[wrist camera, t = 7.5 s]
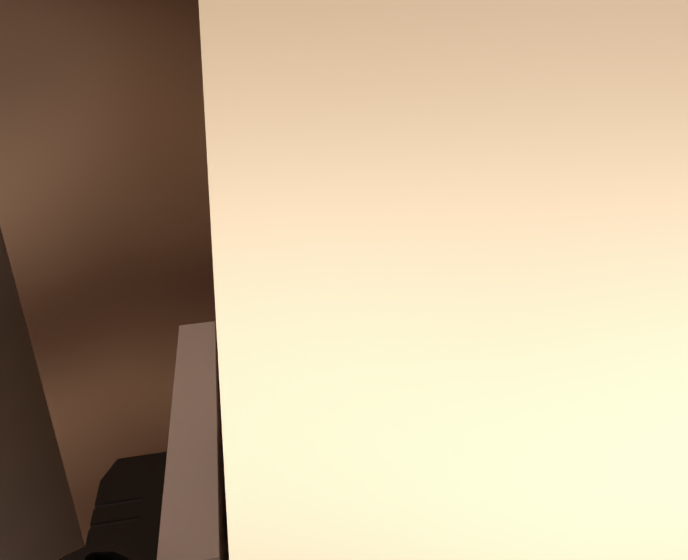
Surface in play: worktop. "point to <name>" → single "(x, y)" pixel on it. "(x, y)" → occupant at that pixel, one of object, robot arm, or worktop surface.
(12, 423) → the worktop surface
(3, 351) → the worktop surface
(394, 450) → the slat
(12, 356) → the worktop surface
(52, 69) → the walnut board
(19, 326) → the worktop surface
